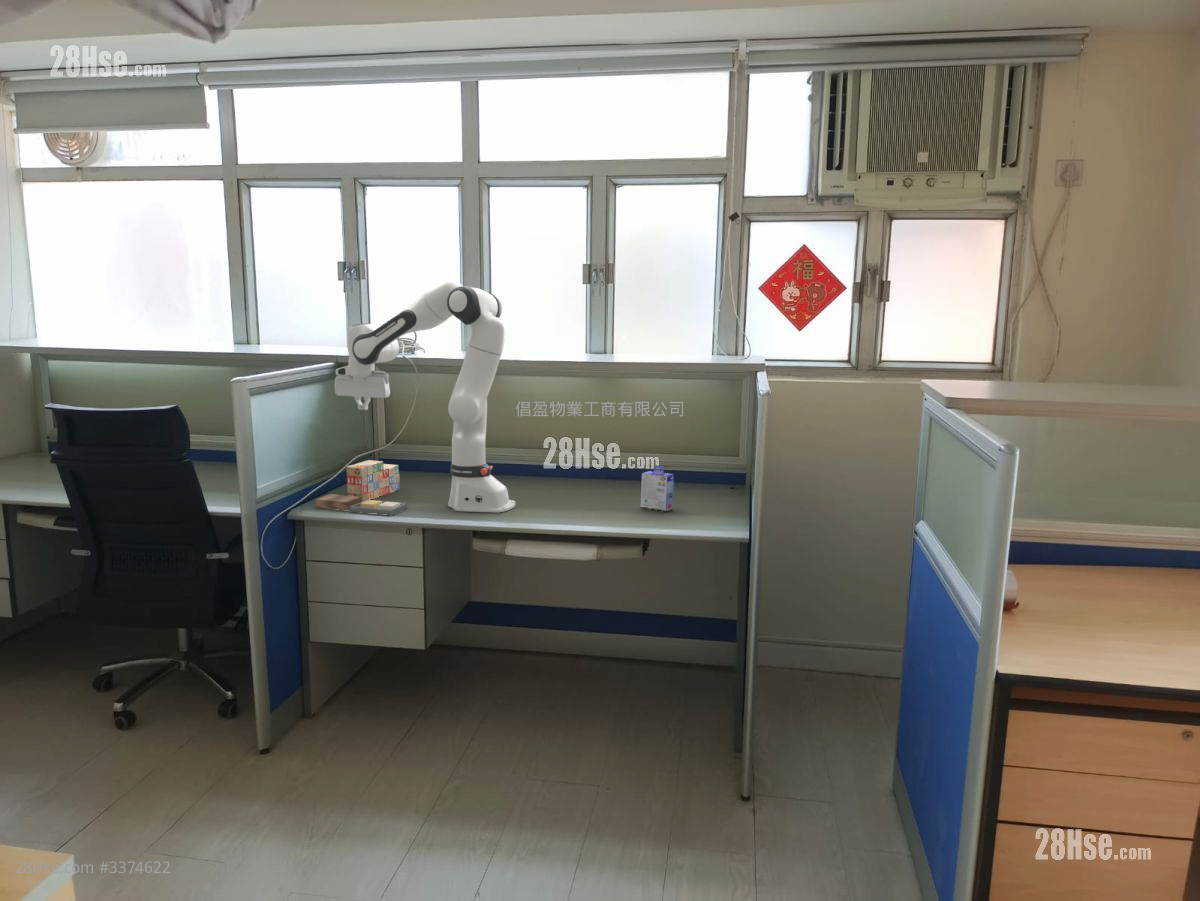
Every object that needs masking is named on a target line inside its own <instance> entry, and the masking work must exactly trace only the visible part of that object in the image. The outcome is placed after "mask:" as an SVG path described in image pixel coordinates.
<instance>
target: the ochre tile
mask: <svg viewBox="0 0 1200 901" xmlns="http://www.w3.org/2000/svg"><path fill="white" fill-rule="evenodd" d="M382 501H383V500H376V499H373V500H367V501H365V502H362V503H361V507H364V508H375V509H379V505H380V504H382V503H383V502H382Z"/></svg>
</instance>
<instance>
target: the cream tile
mask: <svg viewBox="0 0 1200 901" xmlns="http://www.w3.org/2000/svg"><path fill="white" fill-rule="evenodd" d="M400 503H401V502H396V501H395V502H394V501H385V502H384V503H382V504H380V505H379V509H386V510H391V509H393V508H395V507H398V506H400Z"/></svg>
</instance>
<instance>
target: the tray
mask: <svg viewBox="0 0 1200 901" xmlns="http://www.w3.org/2000/svg"><path fill="white" fill-rule="evenodd" d="M365 501H367V500H364V501H362V502H365ZM381 501H382V502H383V503H384V502H386V501H385V500H384V501H383V500H381ZM362 502H360V503H357V504H355V505H352V506H350V507H349V511H348V512H350V511H351V512H350V513H352V512H362V513H361V514H363V513H377V514H387V515H393V514H395V513H397V514H399V513H401V512H403V511H405V510H408V504H407V503H405V502H399V503H400V506H398V507H395V508H393V509H391V510H386V509H375V508H364V507H361V503H362ZM404 509H405V510H404ZM402 510H403V511H402ZM400 511H401V512H400ZM398 512H399V513H398ZM395 515H396V514H395ZM393 516H394V515H393Z"/></svg>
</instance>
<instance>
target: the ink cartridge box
mask: <svg viewBox="0 0 1200 901" xmlns="http://www.w3.org/2000/svg"><path fill="white" fill-rule="evenodd" d="M665 468H666V467H665V466H663V465H657V464H656V465H655V466H654V469H653V471H651V470H650V471H649V470H648V471H644V472H642V473H641V488H640V507H648V508H655V509H661V510H667V509H669V508H672V507H673V506H674V484H675V474H674V473H668V472H667V473H666V472H665ZM673 508H674V507H673Z"/></svg>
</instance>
